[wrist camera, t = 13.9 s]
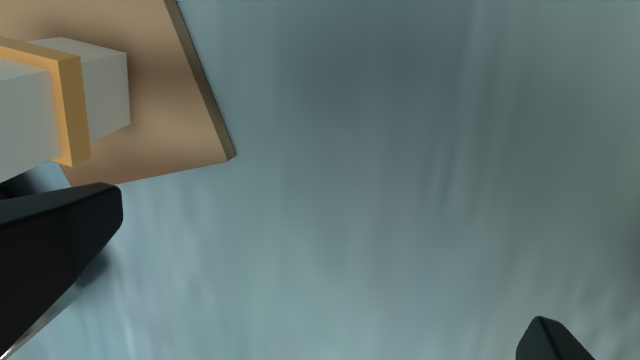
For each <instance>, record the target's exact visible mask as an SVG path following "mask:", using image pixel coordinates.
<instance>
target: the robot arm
mask: <svg viewBox="0 0 640 360" xmlns="http://www.w3.org/2000/svg"><path fill="white" fill-rule="evenodd" d="M122 222H123V206H122V194H121V190H120V189H119V188H118V187H117V186H114V185H111V184H108V183H104V182H97V183H92V184H87V185H81V186H76V187H71V188H66V189H60V190H55V191H50V192H44V193H39V194H34V195H28V196H23V197H18V198H12V199H7V200H2V201H0V358H1V357H2V356H3V355H4V354H5V353H6V352H7V351H8V350H9V349H10V348H11V347H12V346H13V345H14V344H15V343H16V342H17V341H18V340H19V339H20V338H21V337H22V336H23V335H24V334H25V333H26V332H27V331H28V330H29V329H30V327H31V326H32V325H33V324H34V323H35V322H36V321H37V320H38V319H39V318H40V317H41V316H42V315H43V314H44V313H45V312H46V311H47V310H48V309H49V308H50V307H51V306H52V305H53V304H54V303H55V302H56V301H57V300H58V299H59V298H60V297H61V296H62V295H63V294H64V293H65V292H66V291H67V290H68V289H69V288H70V287H71V286H72V285H73V284H74V283H75V281H76V280H77V279H78V278H79V277H80V276H81V275H82V273H83V272H84V271H85V270H86V269H87V267H88V266H89V265H90V264H91V263H92V261H93V260H94V259H95V258H96V256H97V255H98V254H99V253H100V251H101V250H102V249H103V248H104V246H105V245H106V244H107V243H108V242H109V240H110V239H111V238H112V237H113V235H114V234H115V233H116V232H117V230H118V229H119V228H120V226H121V224H122ZM516 360H595V359H594V358H593V357H592V356H591V354H590V353H589V352H588V351H587V350H586V349H585V348H584V347H583V346H582V345H581V344H580V343H579V342H578V340H577V339H576V338H575V337H574V336H573V335H572V334H571V333H570V332H569V331H568V330H567V329H566V328H565V326H564V325H562V324H561V323H560V322H558V321H555V320H552V319H549V318H545V317H542V316H537V317H535V318H534V319H533V320H532V321H531V323H530V325H529V326H528V328H527V330H526V332H525V333H524V335H523V337H522V338H521V340H520V342H519V344H518V346H517V350H516Z"/></svg>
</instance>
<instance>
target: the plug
mask: <svg viewBox="0 0 640 360" xmlns="http://www.w3.org/2000/svg"><path fill="white" fill-rule="evenodd" d="M129 124H131V123H130V106H129V89H128V72H127V55H126V53H125V52H121V51H117V50H113V49H109V48H105V47H101V46H97V45H93V44H89V43H85V42H81V41H77V40H73V39H69V38H65V37H55V38H48V39H41V40H34V41H27V42H23V41H19V40H15V39H11V38H7V37H4V36H0V183H1V182H4V181H6V180H8V179H10V178H12V177H15V176H17V175H19V174H21V173H23V172H26V171H28V170H30V169H32V168H34V167H37V166H39V165H41V164H43V163H45V162H48V161H50V160H51V161H54V162H57V163H60V164H64V165H67V166H70V167H74V166H76V165H78V164H80V163H82V162H84V161H86V160H88V159H90V158H92V157H91V148H90V142H92V141H94V140H96V139H98V138H101V137H103V136H105V135H107V134H109V133H112V132H114V131H116V130H118V129H120V128H123V127H125V126H127V125H129Z"/></svg>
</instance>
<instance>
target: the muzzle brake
mask: <svg viewBox="0 0 640 360" xmlns="http://www.w3.org/2000/svg"><path fill="white" fill-rule="evenodd" d="M12 198H17V197H16V196H15V195H14V194H13V193H12V192H10V191H9V190H8V189H7V188H6V187H0V201H2V200H7V199H12ZM87 289H88V286H87V284H86V283H84V282H83V281H82V280H81V279H80V278H78V279H77V280H76V281H75V283H74V284H73V285H72V286H71V287H70V288H69V289H68V290H67V291H66V292H65V293H64V294H63V295H62V296H61V297H60V298H59V299H58V300H57V301H56V302H55V303H54V304H53V305H52V306H51V307H50V308H49V309H48V310H47V311H46V312H45V313H44V314H43V315H42V316H41V317H40V318H39V319H38V320H37V321H36V322H35V323H34V324H33V325H32V326H31V327H30V329H29V330H28V331H27V332H26V333H25V334H24V335H23V336H22V337H21V338H20V339H19V340H18V341H17V342H16V343H15V344H14V345H13V346H12V347H11V348H10V349H9V350H8V351H7V352H6V353H5V354H4V355H3V356H2V357H1V358H0V360H6V359H7V358H8V357H10V356H11V355H12V354H13V353H14V352H15V351H17V350H18V349H19V348H20V347H21V346H22V345H24V344H25V343H26V342H27V341H28V340H29V339H31V338H32V337H33V336H34V335H35V334H36V333H37V332H39V331H40V330H41V329H42V328H43V327H44V326H46V325H47V324H48V323H49V322H50V321H51V320H53V319H54V318H55V317H56V316H57V315H58V314H60V313H61V312H62V311H63V310H64V309H65V308H66V307H68V306H69V305H70V304H71V303H72V302H73V301H75V300H76V299H77V298H78V297H79V296H80V295H81V294H83V293H84V292H85V291H86V290H87Z"/></svg>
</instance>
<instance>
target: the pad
mask: <svg viewBox="0 0 640 360" xmlns="http://www.w3.org/2000/svg"><path fill="white" fill-rule="evenodd" d="M0 36H4V37H7V38H11V39H15V40H19V41H23V42H27V41H34V40H41V39H48V38H55V37H65V38H69V39H73V40H77V41H81V42H85V43H89V44H93V45H97V46H101V47H105V48H109V49H113V50H117V51H121V52H125V53H126V55H127V72H128V89H129V106H130V123H131V124H129V125H127V126H125V127H123V128H120V129H118V130H116V131H114V132H112V133H109V134H107V135H105V136H103V137H101V138H98V139H96V140H94V141H92V142H90V148H91V157H92V158H90V159H88V160H86V161H84V162H82V163H80V164H78V165H76V166H74V167H70V166H67V165H64V164H60V163H58V164H59V165H60V167H61V169H62V171H63V173H64V174H65V176H66V178H67V180H68V181H69V183H70V185H71V187H76V186H81V185H87V184H92V183H97V182H104V183H108V184H111V185H115V184H120V183H124V182H129V181H134V180H139V179H144V178H149V177H154V176H158V175H163V174H168V173H173V172H178V171H183V170H188V169H193V168H197V167H202V166H207V165H212V164H217V163H222V162H227V161H229V160H230V159H231V158H232V157H234V156H235V155H236V154H235V151H234V148H233V146H232V143H231V141H230V138H229V136H228V133H227V131H226V128H225V125H224V123H223V120H222V118H221V115H220V113H219V110H218V108H217V105H216V102H215V100H214V97H213V95H212V92H211V90H210V87H209V85H208V82H207V79H206V77H205V74H204V72H203V69H202V67H201V64H200V62H199V59H198V56H197V54H196V51H195V49H194V46H193V44H192V41H191V39H190V36H189V34H188V31H187V28H186V26H185V23H184V21H183V18H182V16H181V13H180V11H179V8H178V5H177V3H176V0H0Z"/></svg>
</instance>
